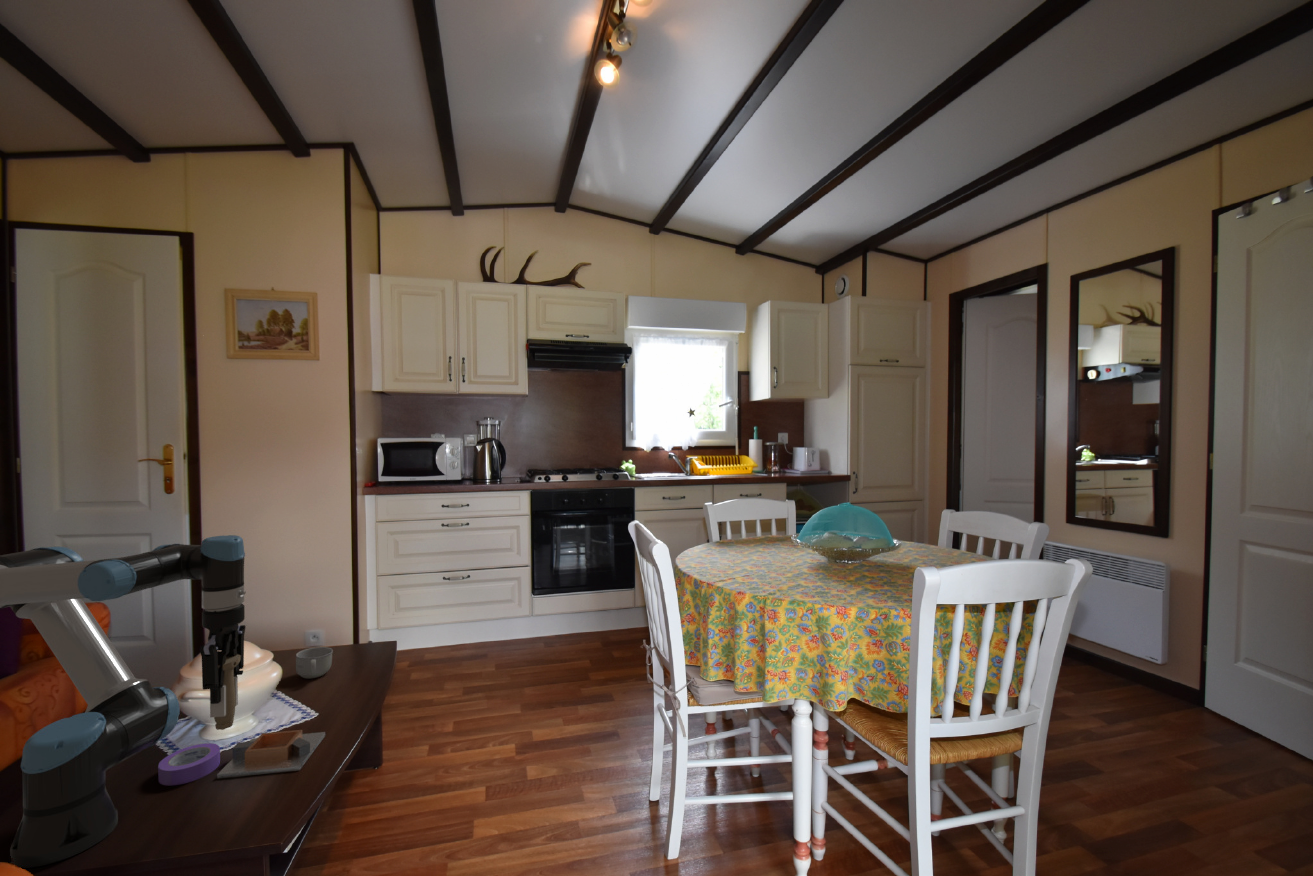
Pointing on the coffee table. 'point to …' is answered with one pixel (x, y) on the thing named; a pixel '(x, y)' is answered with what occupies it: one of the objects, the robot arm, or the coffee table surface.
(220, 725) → the handle
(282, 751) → the coupling base
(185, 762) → the masking tape
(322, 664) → the teacup
